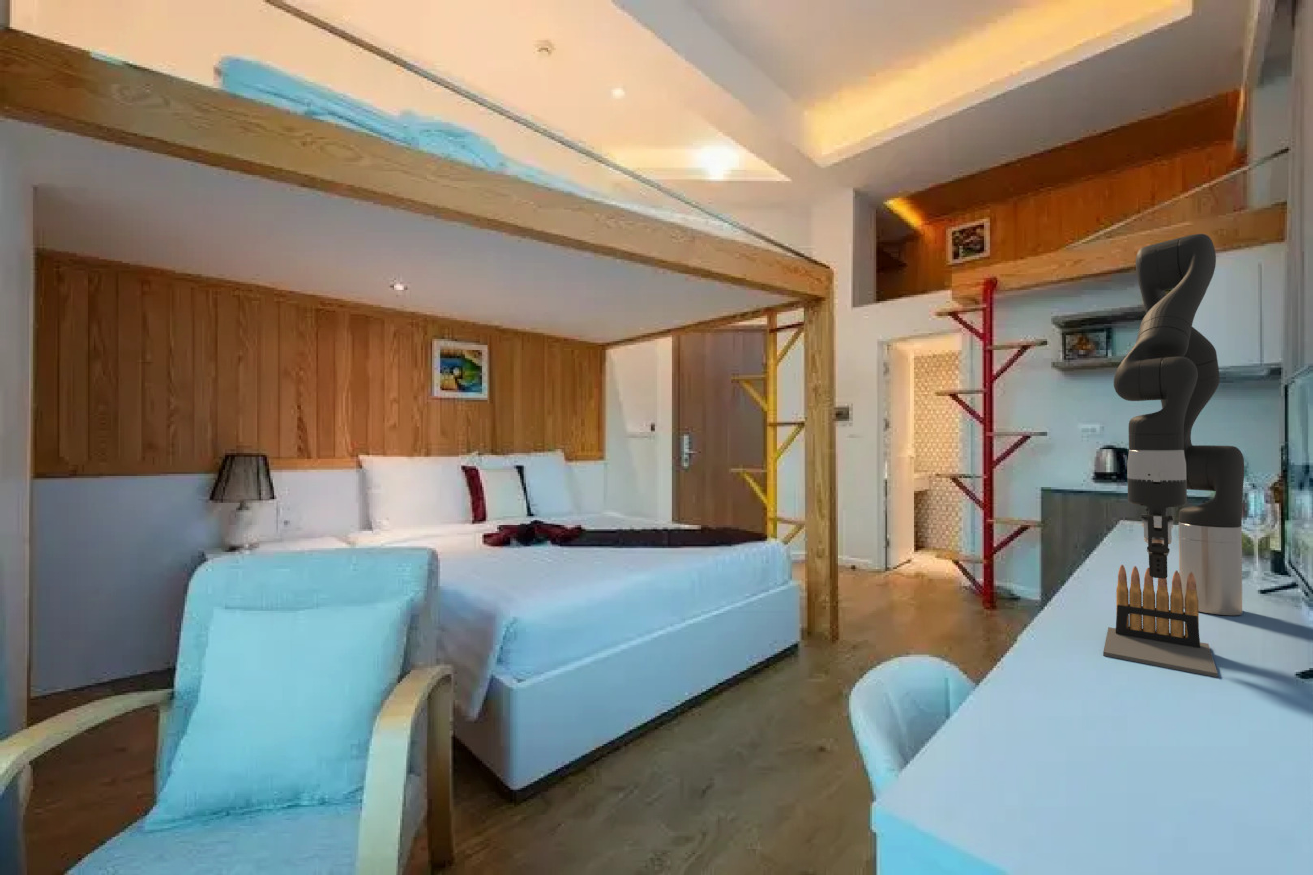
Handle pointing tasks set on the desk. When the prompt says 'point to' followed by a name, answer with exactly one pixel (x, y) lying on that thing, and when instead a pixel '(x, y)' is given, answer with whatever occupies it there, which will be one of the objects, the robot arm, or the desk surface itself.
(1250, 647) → the desk surface
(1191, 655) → the mat
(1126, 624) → the ammunition clip
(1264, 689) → the desk surface
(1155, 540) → the robot arm
